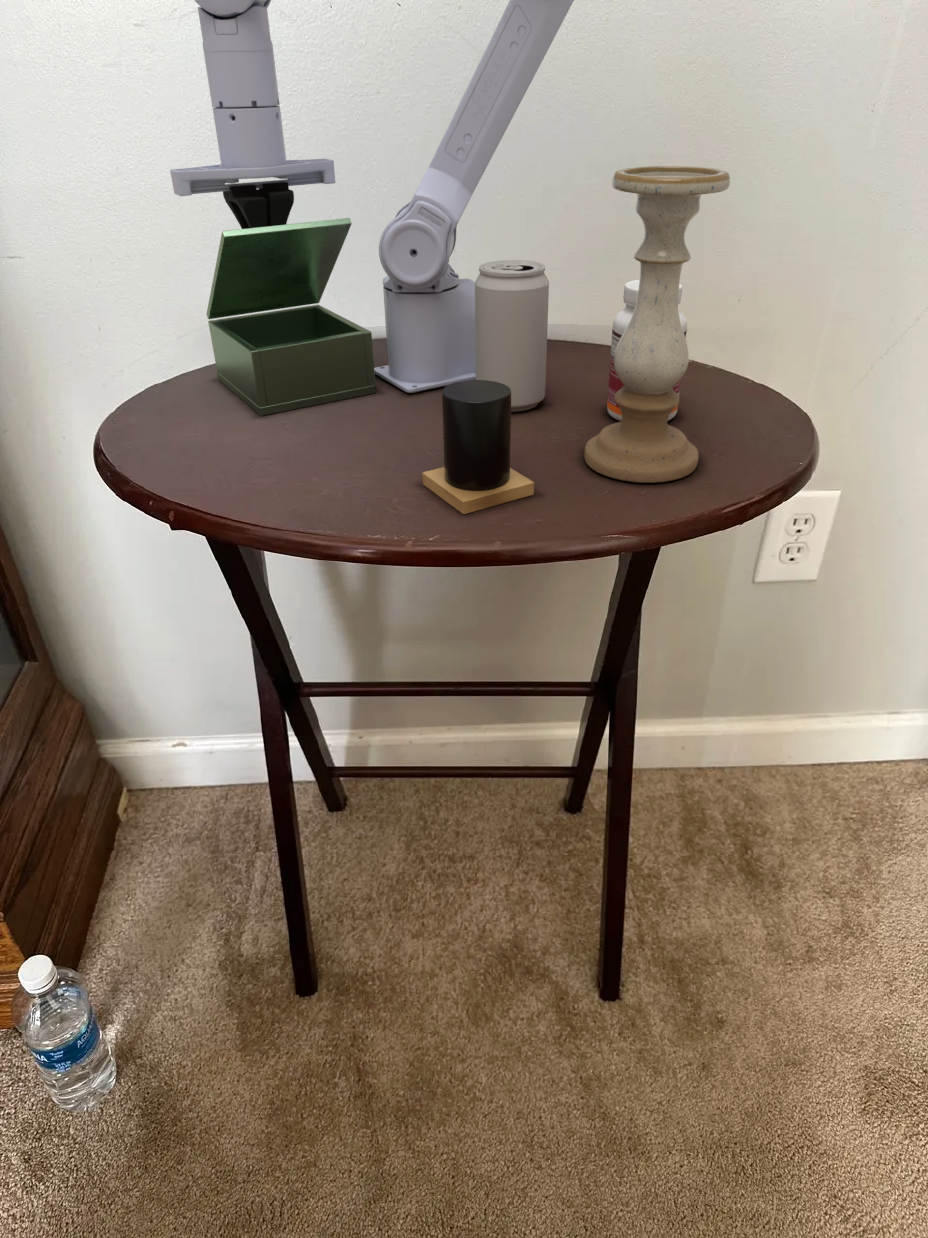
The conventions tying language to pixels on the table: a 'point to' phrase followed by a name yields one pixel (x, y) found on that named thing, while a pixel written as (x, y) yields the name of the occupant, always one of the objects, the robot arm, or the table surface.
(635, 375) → the candle holder
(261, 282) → the green box lid
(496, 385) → the cylinder
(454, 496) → the plate
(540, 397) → the beverage can
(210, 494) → the table surface
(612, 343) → the pill bottle
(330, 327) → the green hinged box
